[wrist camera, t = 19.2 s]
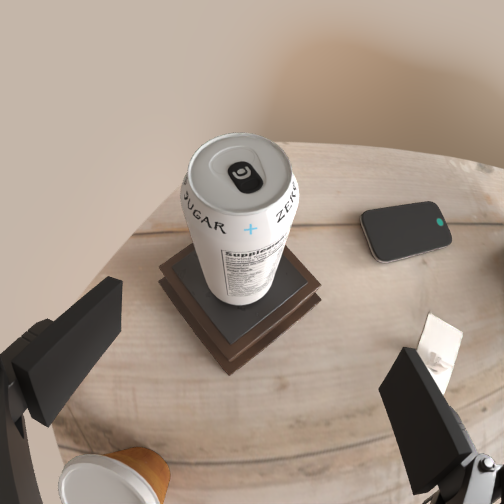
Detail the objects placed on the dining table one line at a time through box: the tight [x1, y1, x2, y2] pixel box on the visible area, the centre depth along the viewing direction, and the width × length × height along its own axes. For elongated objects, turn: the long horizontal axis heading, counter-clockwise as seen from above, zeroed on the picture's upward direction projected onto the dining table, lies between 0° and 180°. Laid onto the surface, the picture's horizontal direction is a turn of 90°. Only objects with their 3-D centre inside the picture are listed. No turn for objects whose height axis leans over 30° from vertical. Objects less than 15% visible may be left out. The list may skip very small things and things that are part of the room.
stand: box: [158, 243, 321, 376], centre depth 30 cm, size 13×13×7 cm
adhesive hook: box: [425, 351, 452, 376], centre depth 29 cm, size 3×3×3 cm
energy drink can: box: [180, 133, 299, 305], centre depth 20 cm, size 6×6×15 cm
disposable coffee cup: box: [58, 447, 170, 504], centre depth 19 cm, size 10×10×12 cm
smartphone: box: [360, 201, 452, 263], centre depth 38 cm, size 8×1×15 cm
